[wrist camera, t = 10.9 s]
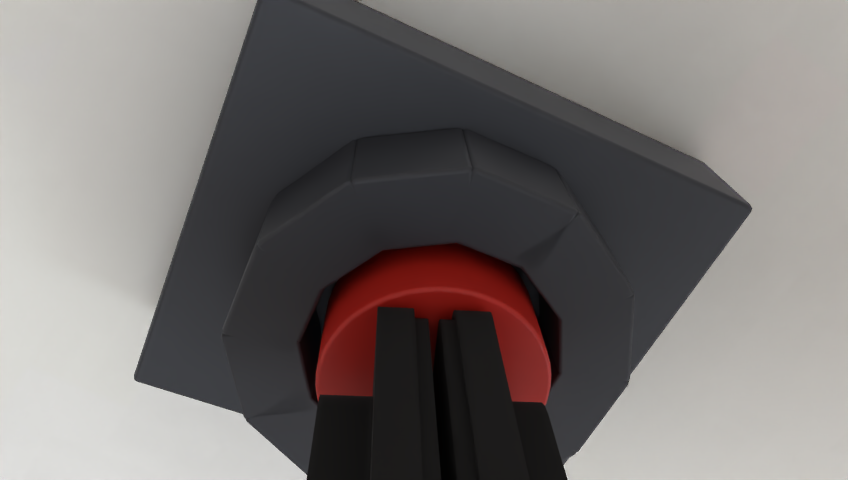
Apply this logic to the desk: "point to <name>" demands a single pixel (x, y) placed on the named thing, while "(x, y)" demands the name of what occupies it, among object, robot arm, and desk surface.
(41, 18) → the desk surface
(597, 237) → the dark grey squat piece
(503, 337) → the red short cylinder
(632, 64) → the desk surface
